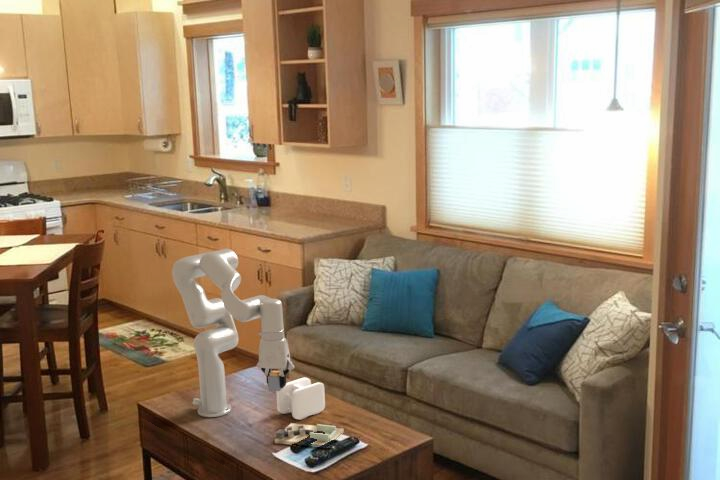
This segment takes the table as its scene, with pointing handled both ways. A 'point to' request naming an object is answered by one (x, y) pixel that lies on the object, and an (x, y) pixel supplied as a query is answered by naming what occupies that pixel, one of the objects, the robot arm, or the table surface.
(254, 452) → the table surface
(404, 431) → the table surface
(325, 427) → the bracket
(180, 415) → the table surface
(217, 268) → the robot arm
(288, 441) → the board
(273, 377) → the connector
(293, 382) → the cable organizer
